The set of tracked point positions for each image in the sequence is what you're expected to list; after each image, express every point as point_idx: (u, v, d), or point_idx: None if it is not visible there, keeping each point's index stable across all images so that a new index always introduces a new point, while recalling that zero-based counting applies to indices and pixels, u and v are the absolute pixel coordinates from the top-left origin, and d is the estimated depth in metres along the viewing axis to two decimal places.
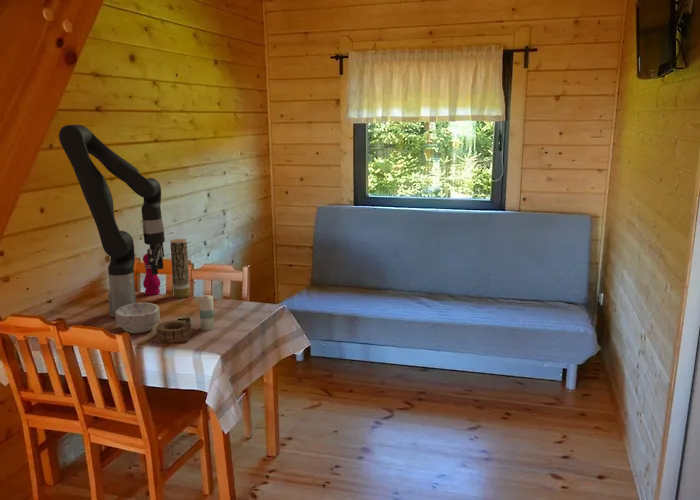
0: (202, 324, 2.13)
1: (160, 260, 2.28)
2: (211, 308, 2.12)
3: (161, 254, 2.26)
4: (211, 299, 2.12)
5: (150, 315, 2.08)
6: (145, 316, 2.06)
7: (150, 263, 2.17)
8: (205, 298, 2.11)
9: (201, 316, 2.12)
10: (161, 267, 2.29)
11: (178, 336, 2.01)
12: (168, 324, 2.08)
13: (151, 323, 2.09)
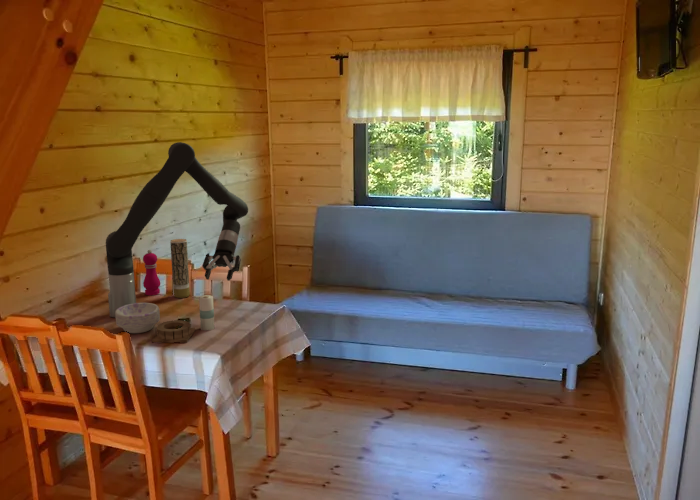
0: (202, 324, 2.13)
1: (210, 271, 2.25)
2: (211, 308, 2.12)
3: (216, 266, 2.28)
4: (211, 299, 2.11)
5: (150, 315, 2.08)
6: (145, 316, 2.06)
7: (237, 268, 2.24)
8: (205, 298, 2.11)
9: (201, 316, 2.12)
10: (208, 277, 2.24)
11: (178, 336, 2.01)
12: (168, 324, 2.08)
13: (151, 323, 2.09)
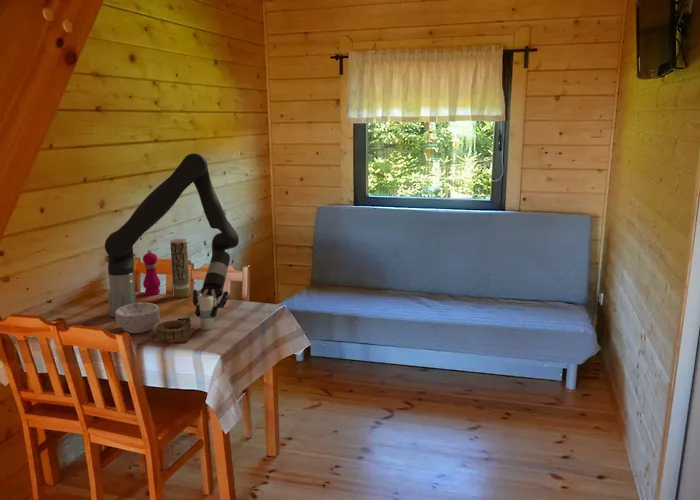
0: (202, 324, 2.13)
1: None
2: (211, 308, 2.12)
3: None
4: (211, 299, 2.12)
5: (150, 315, 2.08)
6: (145, 316, 2.06)
7: (222, 304, 2.14)
8: (205, 298, 2.11)
9: (201, 316, 2.12)
10: (199, 315, 2.13)
11: (178, 336, 2.01)
12: (168, 324, 2.08)
13: (151, 323, 2.09)
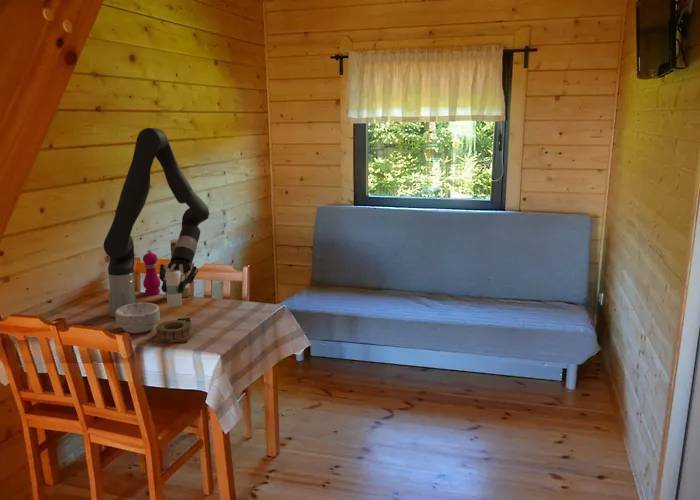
0: (169, 300, 2.02)
1: None
2: (178, 283, 2.02)
3: None
4: (178, 273, 2.01)
5: (150, 315, 2.08)
6: (145, 316, 2.06)
7: (190, 279, 2.03)
8: (172, 272, 2.01)
9: (168, 291, 2.02)
10: (165, 290, 2.03)
11: (178, 336, 2.01)
12: (168, 324, 2.08)
13: (151, 323, 2.09)
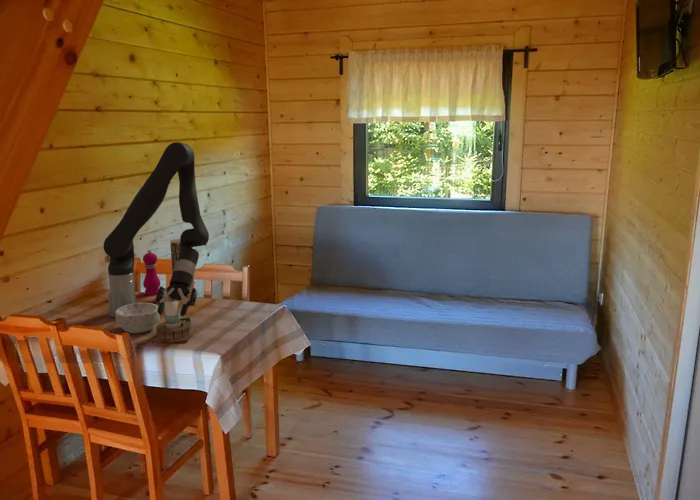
0: None
1: (163, 305, 2.06)
2: (177, 313, 2.03)
3: None
4: (177, 303, 2.03)
5: (150, 315, 2.08)
6: (145, 316, 2.06)
7: (192, 302, 2.05)
8: (170, 302, 2.02)
9: (166, 321, 2.03)
10: (161, 313, 2.05)
11: (178, 336, 2.01)
12: None
13: (151, 323, 2.09)
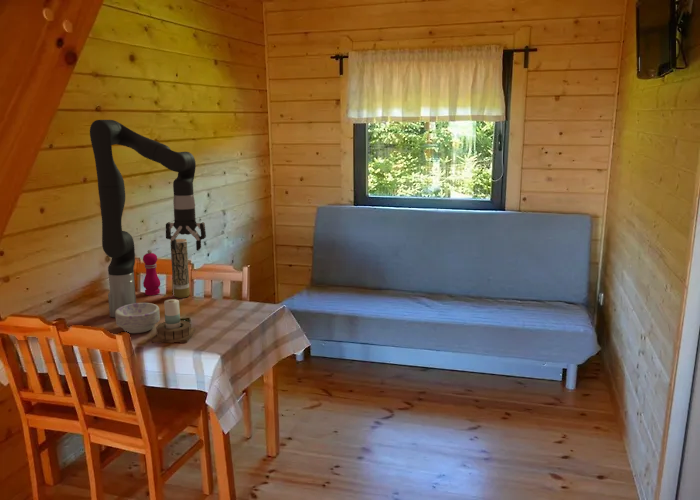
0: None
1: (175, 240, 2.15)
2: (177, 313, 2.03)
3: (179, 233, 2.16)
4: (176, 303, 2.03)
5: (150, 315, 2.08)
6: (145, 316, 2.06)
7: (204, 237, 2.14)
8: (170, 302, 2.02)
9: (166, 321, 2.03)
10: (176, 248, 2.16)
11: (178, 336, 2.01)
12: None
13: (151, 323, 2.09)
